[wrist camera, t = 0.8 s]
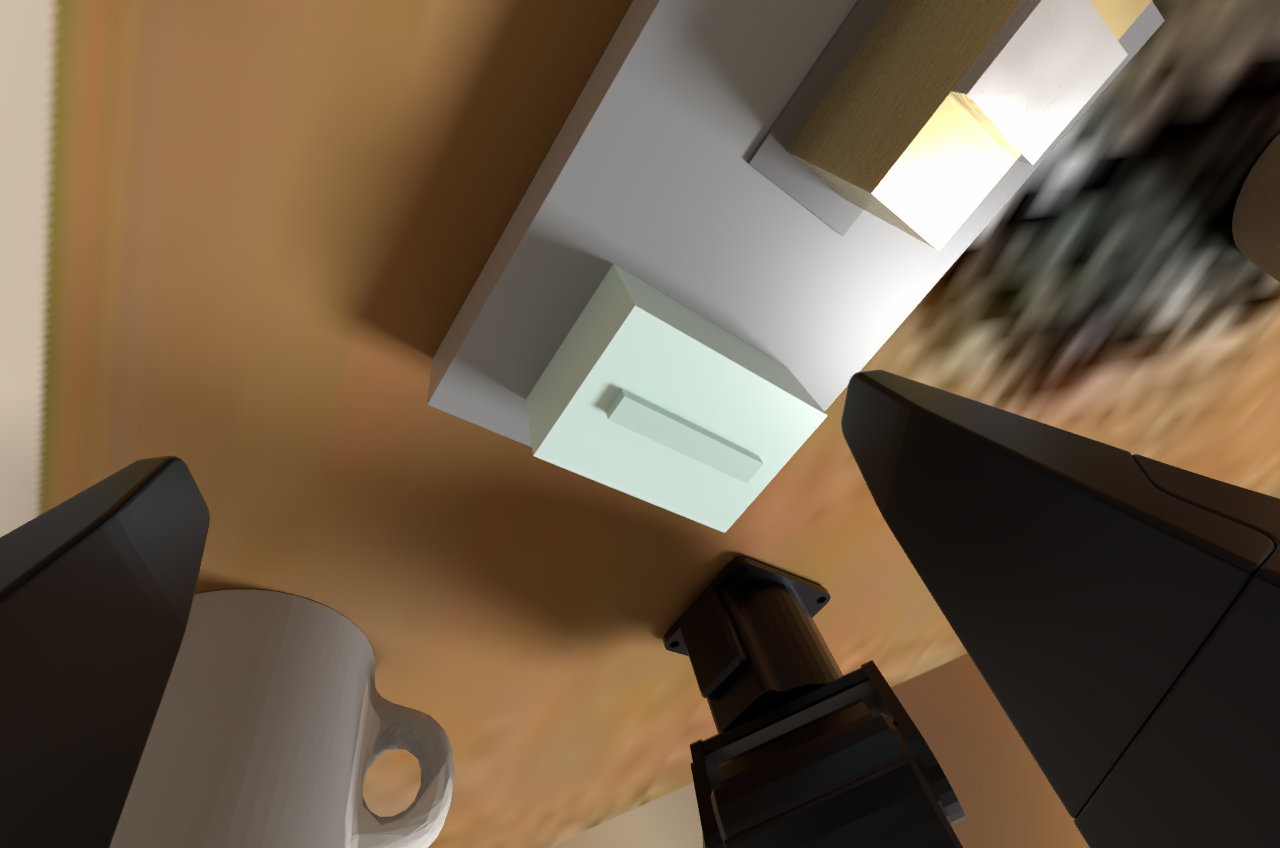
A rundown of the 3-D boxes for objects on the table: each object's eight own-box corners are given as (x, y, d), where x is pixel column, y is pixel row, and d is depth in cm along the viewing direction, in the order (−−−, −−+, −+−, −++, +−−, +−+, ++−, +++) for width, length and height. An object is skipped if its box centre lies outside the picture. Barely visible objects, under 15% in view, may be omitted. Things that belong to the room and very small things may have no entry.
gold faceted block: (1036, -51, 16) (1231, -66, 12) (845, 199, 18) (952, 258, 14) (982, -125, 15) (1177, -172, 11) (786, 151, 17) (884, 199, 13)
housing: (1080, 17, 20) (1171, 20, 17) (702, 478, 27) (726, 529, 25) (822, -337, 14) (897, -410, 12) (432, 358, 22) (426, 408, 19)
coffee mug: (103, 730, 28) (-50, 1033, 20) (126, 569, 24) (-56, 869, 16) (416, 748, 33) (398, 992, 25) (480, 620, 29) (482, 863, 21)
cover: (787, 367, 21) (834, 422, 18) (698, 476, 23) (729, 541, 20) (613, 263, 18) (638, 312, 15) (525, 399, 20) (534, 464, 17)
